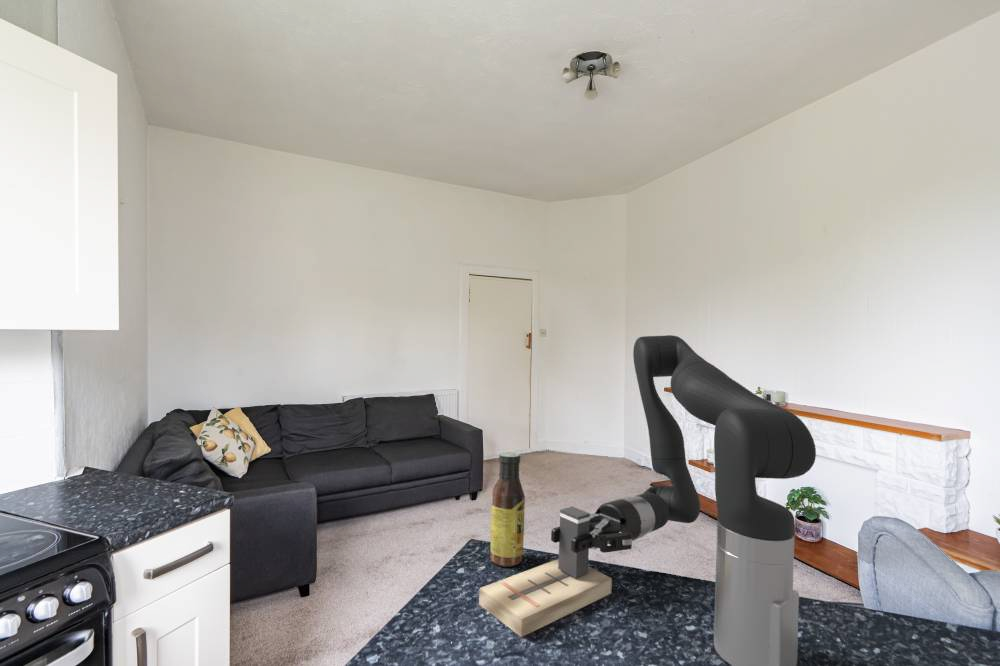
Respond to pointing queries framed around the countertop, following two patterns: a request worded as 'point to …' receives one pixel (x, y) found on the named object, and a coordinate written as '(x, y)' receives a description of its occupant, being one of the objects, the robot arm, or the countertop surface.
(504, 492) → the sauce bottle
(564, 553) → the fader cap
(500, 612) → the fader console
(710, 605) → the countertop surface
